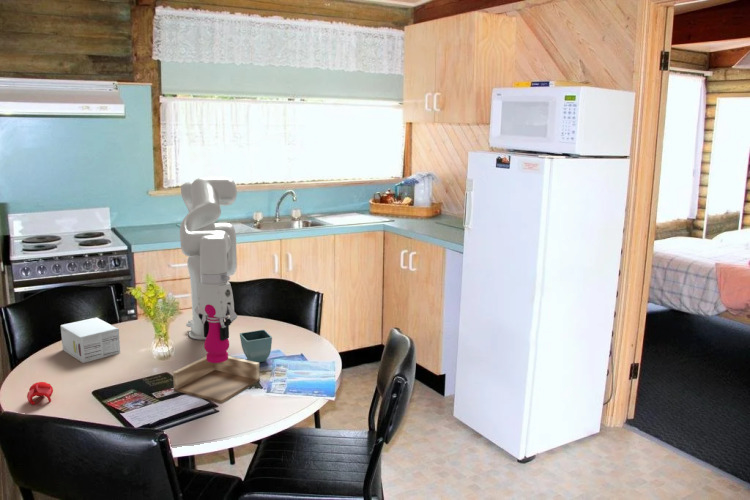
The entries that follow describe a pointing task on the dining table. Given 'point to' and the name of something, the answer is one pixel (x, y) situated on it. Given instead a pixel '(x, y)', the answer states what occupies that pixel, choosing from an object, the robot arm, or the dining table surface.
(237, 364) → the corner fence
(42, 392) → the red curved piece
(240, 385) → the board
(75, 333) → the supplement box
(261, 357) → the flower pot
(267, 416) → the dining table surface
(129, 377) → the dining table surface
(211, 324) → the pepper mill
